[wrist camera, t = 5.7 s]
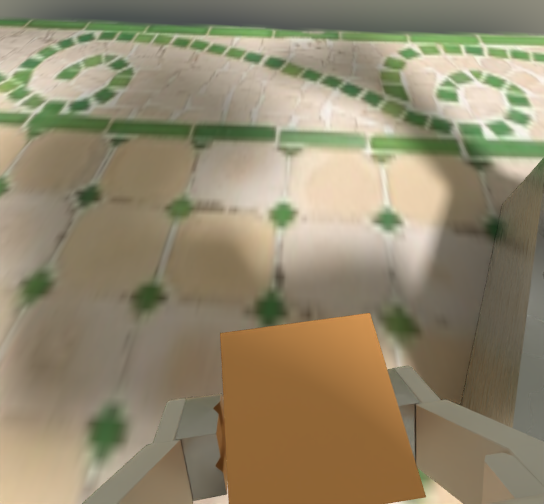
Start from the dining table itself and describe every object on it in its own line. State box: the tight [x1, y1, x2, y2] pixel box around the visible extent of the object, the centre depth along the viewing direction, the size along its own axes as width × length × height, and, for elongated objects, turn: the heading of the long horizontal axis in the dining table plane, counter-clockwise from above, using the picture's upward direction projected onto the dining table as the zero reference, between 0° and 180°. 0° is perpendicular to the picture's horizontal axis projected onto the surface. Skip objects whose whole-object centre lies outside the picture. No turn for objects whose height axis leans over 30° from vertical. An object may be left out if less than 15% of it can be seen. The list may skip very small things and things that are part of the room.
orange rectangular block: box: [220, 313, 426, 504], centre depth 10 cm, size 3×3×10 cm
